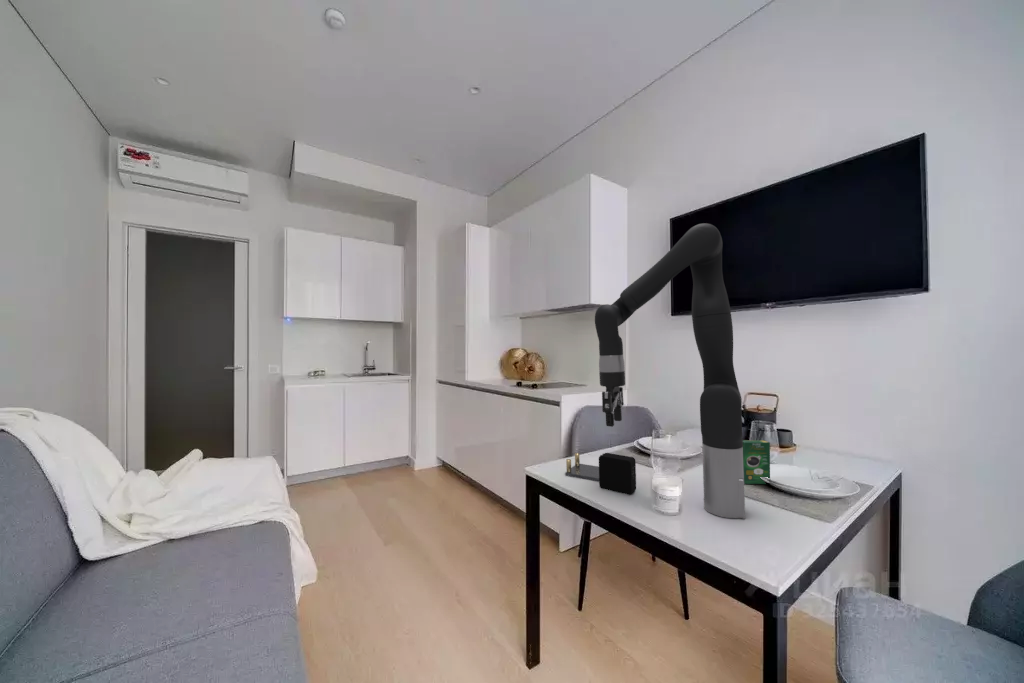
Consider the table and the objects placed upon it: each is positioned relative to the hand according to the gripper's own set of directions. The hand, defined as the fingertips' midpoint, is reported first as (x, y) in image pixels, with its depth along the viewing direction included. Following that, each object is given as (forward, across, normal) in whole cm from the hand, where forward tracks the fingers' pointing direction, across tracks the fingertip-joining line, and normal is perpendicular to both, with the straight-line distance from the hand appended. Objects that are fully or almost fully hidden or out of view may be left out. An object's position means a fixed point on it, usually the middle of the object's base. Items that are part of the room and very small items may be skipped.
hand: (614, 423), depth 111 cm
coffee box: (+21, +25, -36) cm, 49 cm away
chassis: (+20, +9, +11) cm, 24 cm away
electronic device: (+20, 0, 0) cm, 20 cm away
